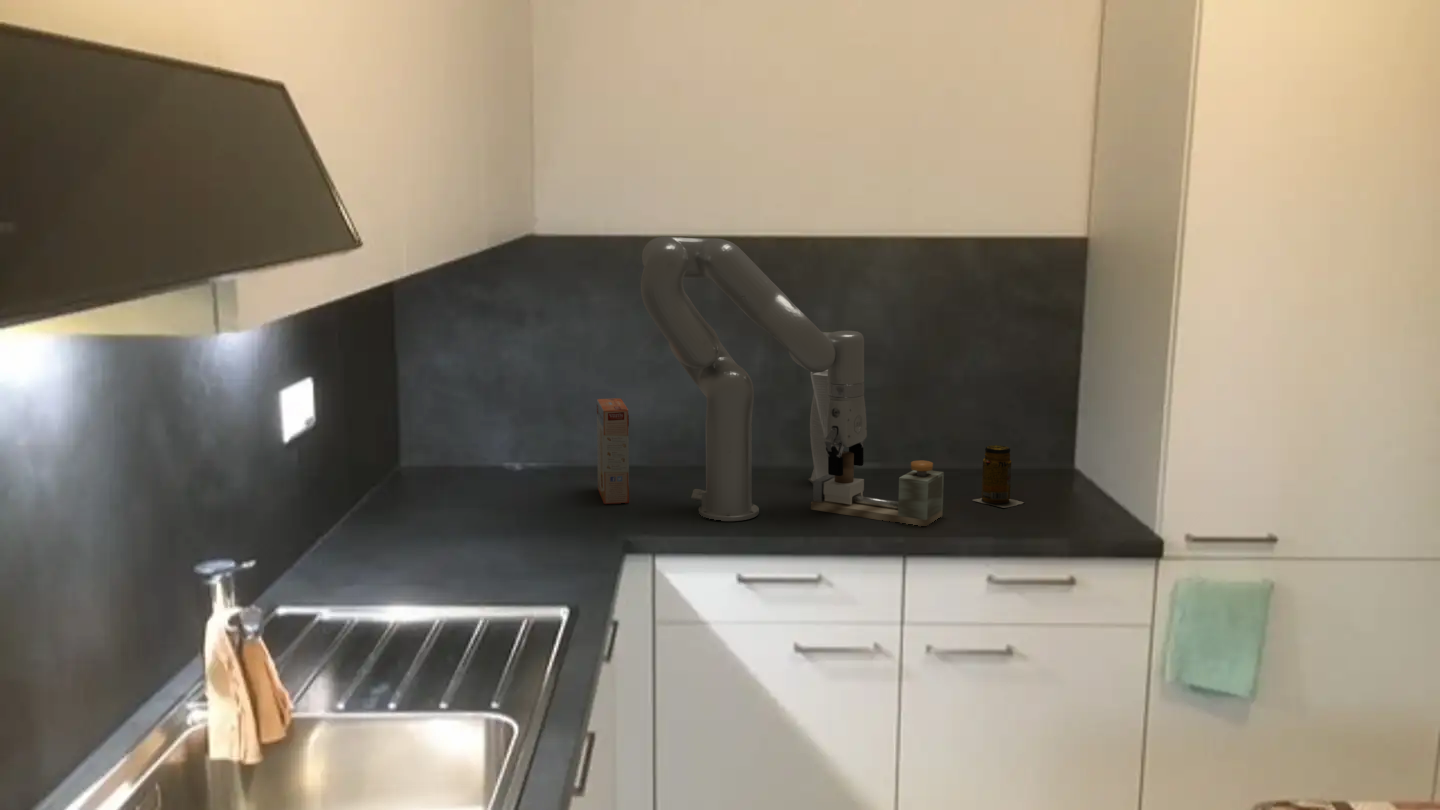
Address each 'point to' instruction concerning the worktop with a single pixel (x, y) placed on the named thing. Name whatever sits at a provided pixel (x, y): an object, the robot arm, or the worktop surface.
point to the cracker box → (613, 450)
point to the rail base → (870, 512)
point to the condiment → (997, 477)
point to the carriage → (844, 483)
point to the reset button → (922, 467)
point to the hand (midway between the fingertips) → (846, 470)
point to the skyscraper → (819, 424)
